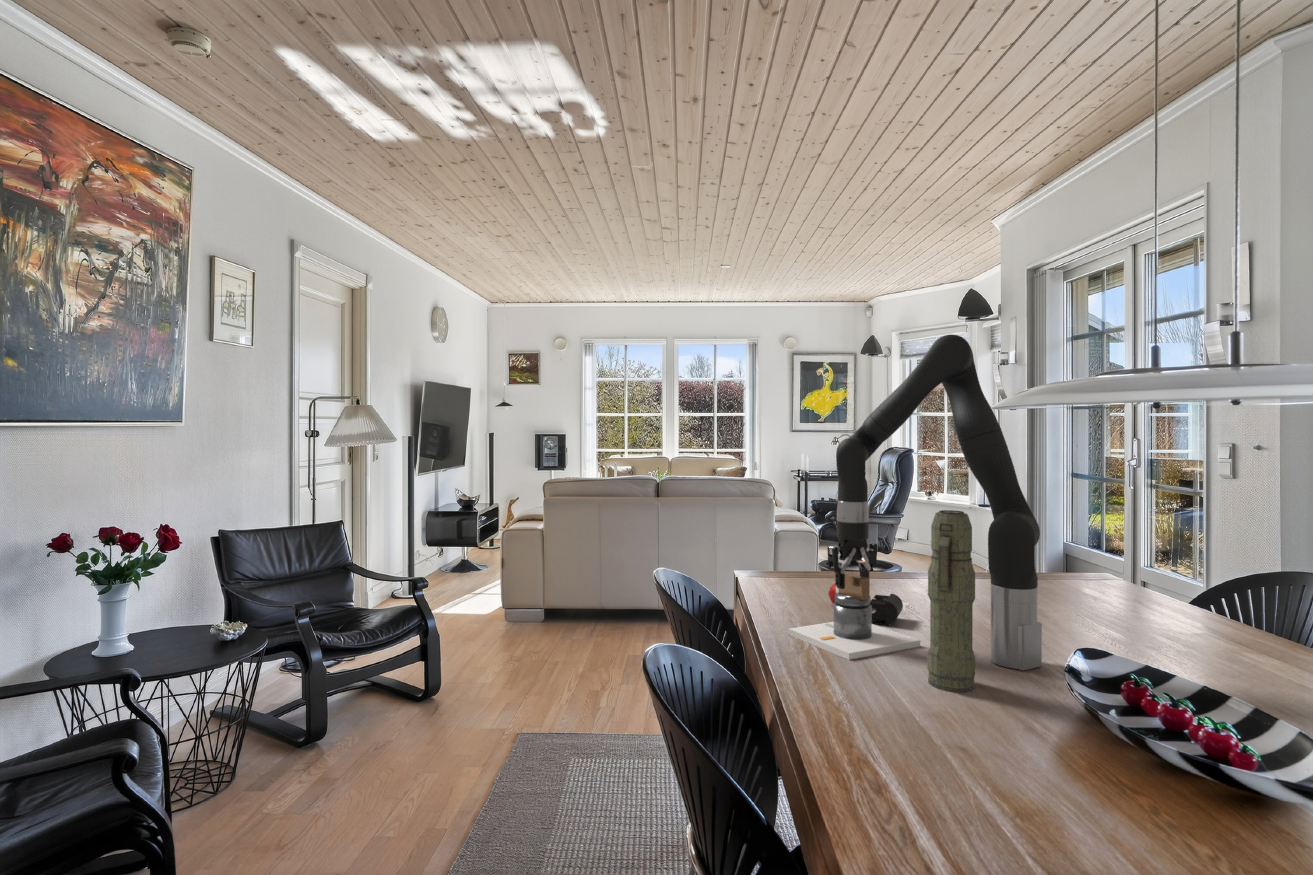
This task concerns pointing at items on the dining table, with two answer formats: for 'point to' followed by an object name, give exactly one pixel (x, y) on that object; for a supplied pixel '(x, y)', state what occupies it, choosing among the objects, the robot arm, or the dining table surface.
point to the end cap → (886, 609)
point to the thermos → (951, 603)
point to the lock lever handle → (854, 592)
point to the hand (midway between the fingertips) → (852, 586)
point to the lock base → (854, 646)
